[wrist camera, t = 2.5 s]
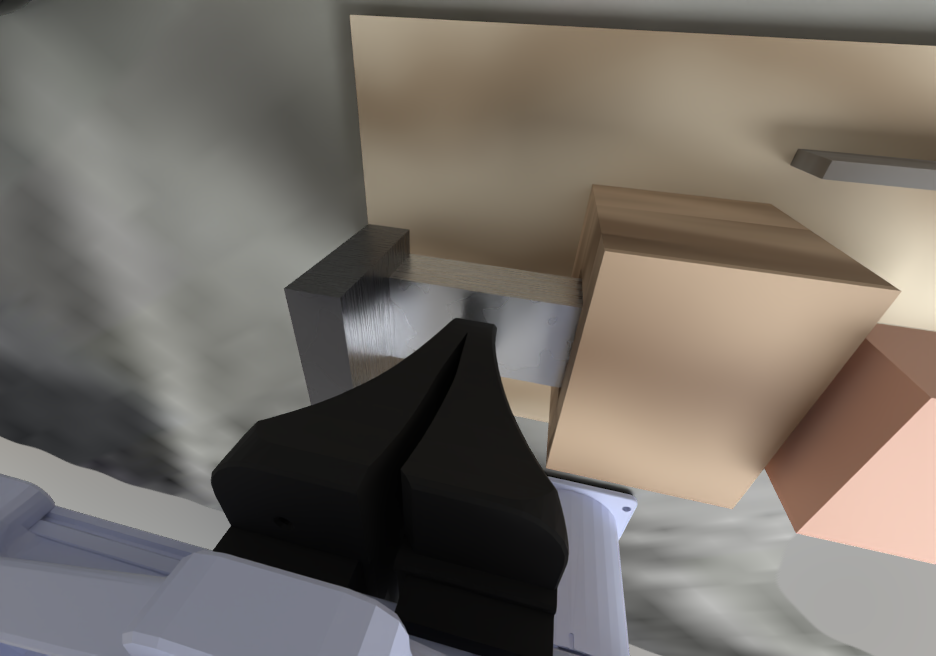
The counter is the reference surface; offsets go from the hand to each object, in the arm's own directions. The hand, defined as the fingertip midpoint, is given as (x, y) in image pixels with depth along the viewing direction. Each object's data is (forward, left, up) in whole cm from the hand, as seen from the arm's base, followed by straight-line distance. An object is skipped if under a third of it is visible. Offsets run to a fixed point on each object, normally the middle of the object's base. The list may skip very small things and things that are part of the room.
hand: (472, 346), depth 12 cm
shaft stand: (0, -8, -7) cm, 11 cm away
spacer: (0, -12, -1) cm, 12 cm away
